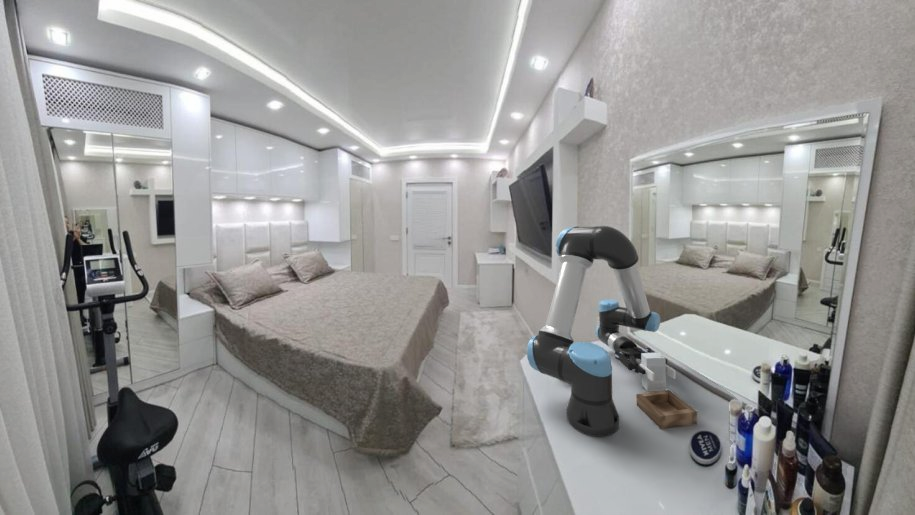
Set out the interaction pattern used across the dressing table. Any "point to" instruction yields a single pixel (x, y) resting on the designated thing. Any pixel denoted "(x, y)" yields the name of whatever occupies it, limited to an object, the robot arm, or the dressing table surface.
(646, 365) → the skincare box
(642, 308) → the robot arm
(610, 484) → the dressing table surface
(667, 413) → the walnut square tray
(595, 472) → the dressing table surface
